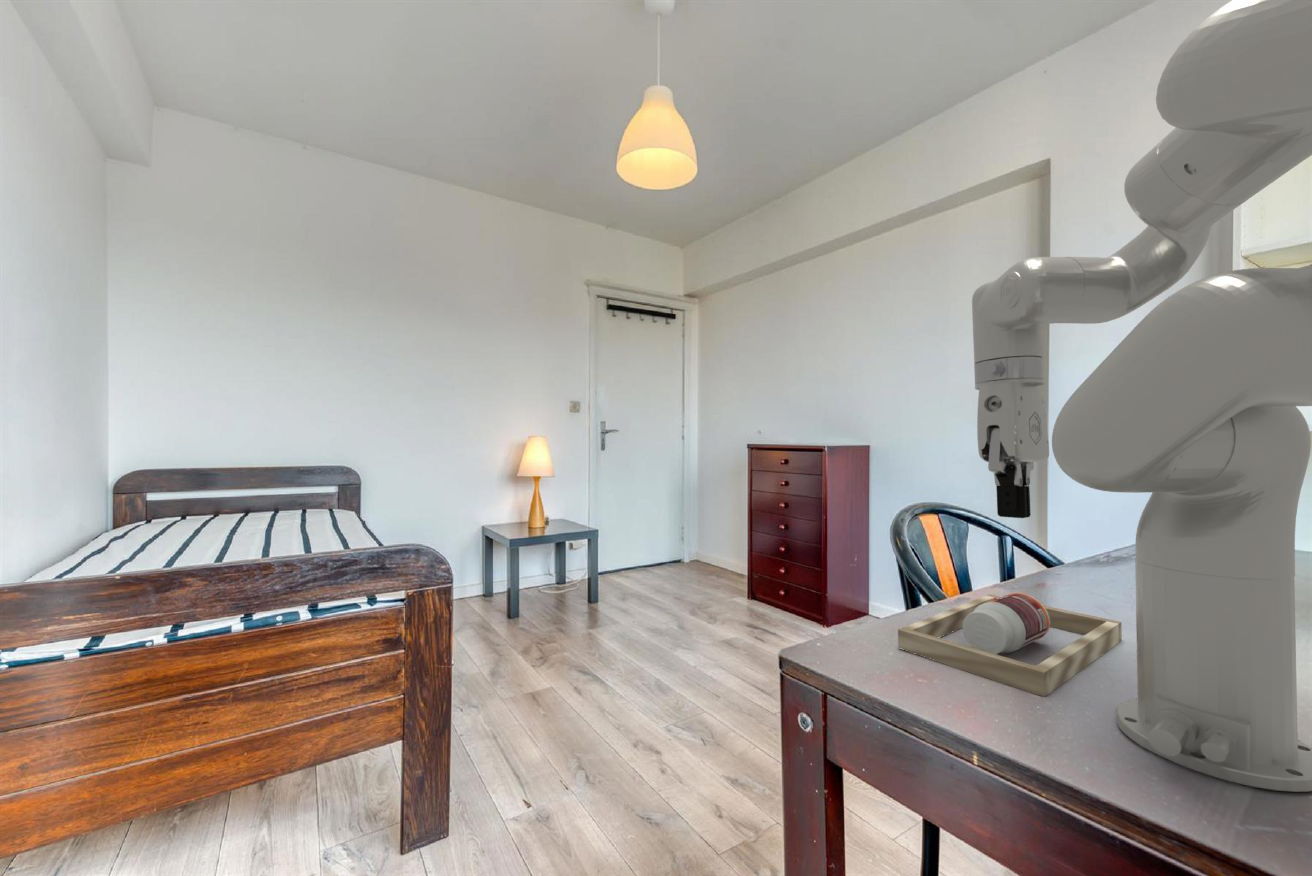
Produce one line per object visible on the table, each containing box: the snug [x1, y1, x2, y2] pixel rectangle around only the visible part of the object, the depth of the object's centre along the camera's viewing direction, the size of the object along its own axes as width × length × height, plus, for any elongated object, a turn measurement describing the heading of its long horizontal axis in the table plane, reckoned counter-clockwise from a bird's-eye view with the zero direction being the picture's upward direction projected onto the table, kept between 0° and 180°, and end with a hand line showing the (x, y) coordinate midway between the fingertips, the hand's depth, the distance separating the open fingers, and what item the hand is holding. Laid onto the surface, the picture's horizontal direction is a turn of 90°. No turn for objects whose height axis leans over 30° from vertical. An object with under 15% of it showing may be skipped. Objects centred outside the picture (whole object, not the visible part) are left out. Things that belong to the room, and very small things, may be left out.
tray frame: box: [897, 594, 1123, 698], centre depth 69 cm, size 26×16×2 cm, turn 125°
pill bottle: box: [962, 592, 1051, 655], centre depth 68 cm, size 6×6×11 cm
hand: (1013, 516), depth 69 cm, fingers closed
